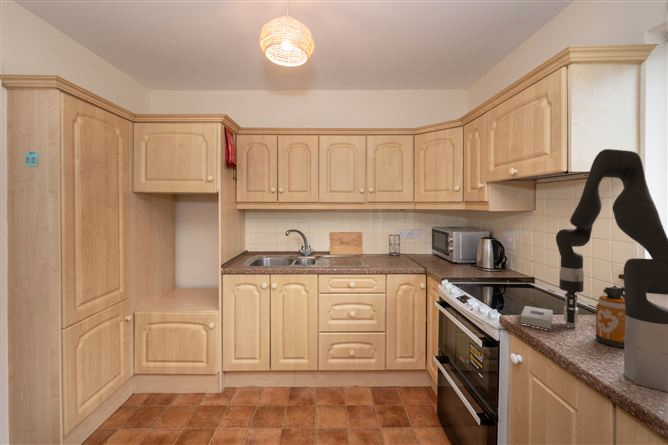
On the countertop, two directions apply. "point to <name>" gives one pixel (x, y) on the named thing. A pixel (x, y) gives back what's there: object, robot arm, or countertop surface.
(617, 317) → the canister
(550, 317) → the grey rectangular block
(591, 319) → the countertop surface
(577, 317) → the cream rectangular block
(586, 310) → the countertop surface
